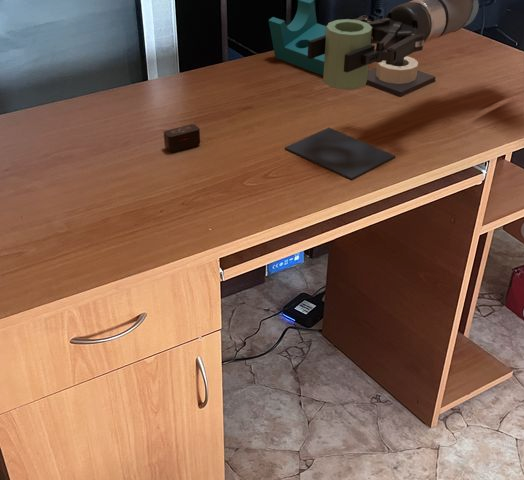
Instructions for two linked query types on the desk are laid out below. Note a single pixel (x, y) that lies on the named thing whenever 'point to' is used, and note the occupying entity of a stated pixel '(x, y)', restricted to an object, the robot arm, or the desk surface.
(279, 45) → the teal l-shaped bracket
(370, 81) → the stack stand
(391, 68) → the cream ring
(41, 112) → the desk surface
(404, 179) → the desk surface
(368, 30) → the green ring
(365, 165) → the mat
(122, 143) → the desk surface
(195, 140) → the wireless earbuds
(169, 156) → the desk surface
